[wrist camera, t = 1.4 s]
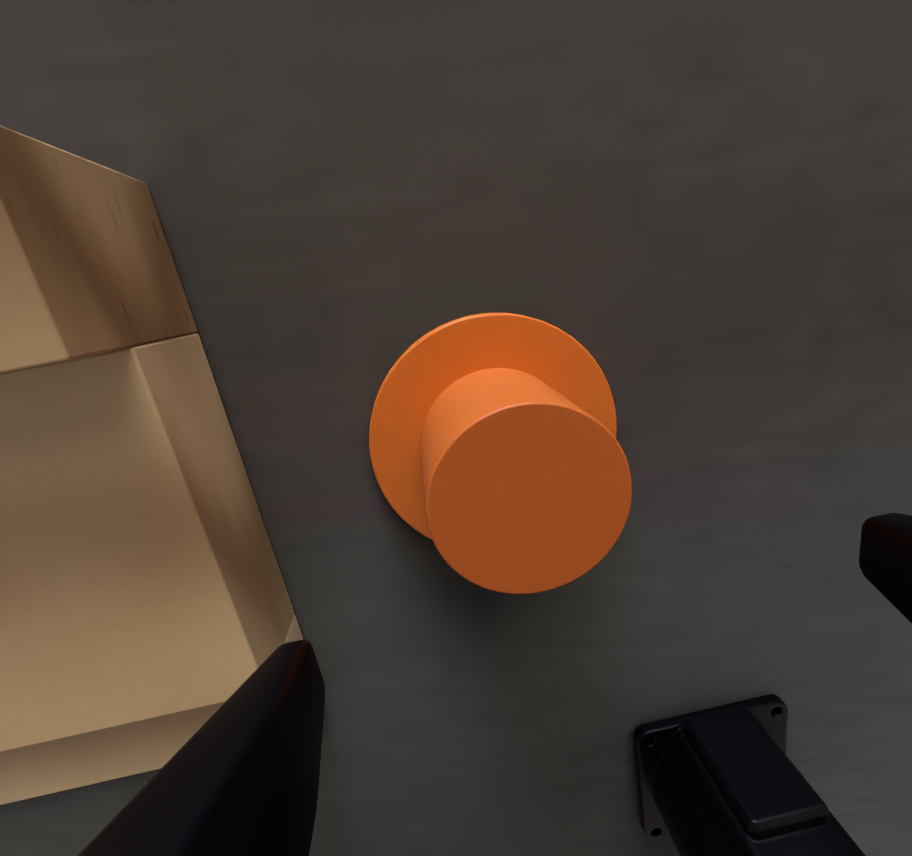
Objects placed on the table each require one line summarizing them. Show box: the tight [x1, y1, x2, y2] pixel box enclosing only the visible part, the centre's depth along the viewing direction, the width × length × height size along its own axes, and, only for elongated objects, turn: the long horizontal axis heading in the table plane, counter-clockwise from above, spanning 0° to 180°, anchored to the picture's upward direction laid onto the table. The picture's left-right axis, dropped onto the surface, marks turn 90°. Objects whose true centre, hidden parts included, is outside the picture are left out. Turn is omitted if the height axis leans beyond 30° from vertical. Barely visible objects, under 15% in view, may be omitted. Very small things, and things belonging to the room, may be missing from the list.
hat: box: [369, 313, 632, 594], centre depth 13 cm, size 8×8×5 cm
